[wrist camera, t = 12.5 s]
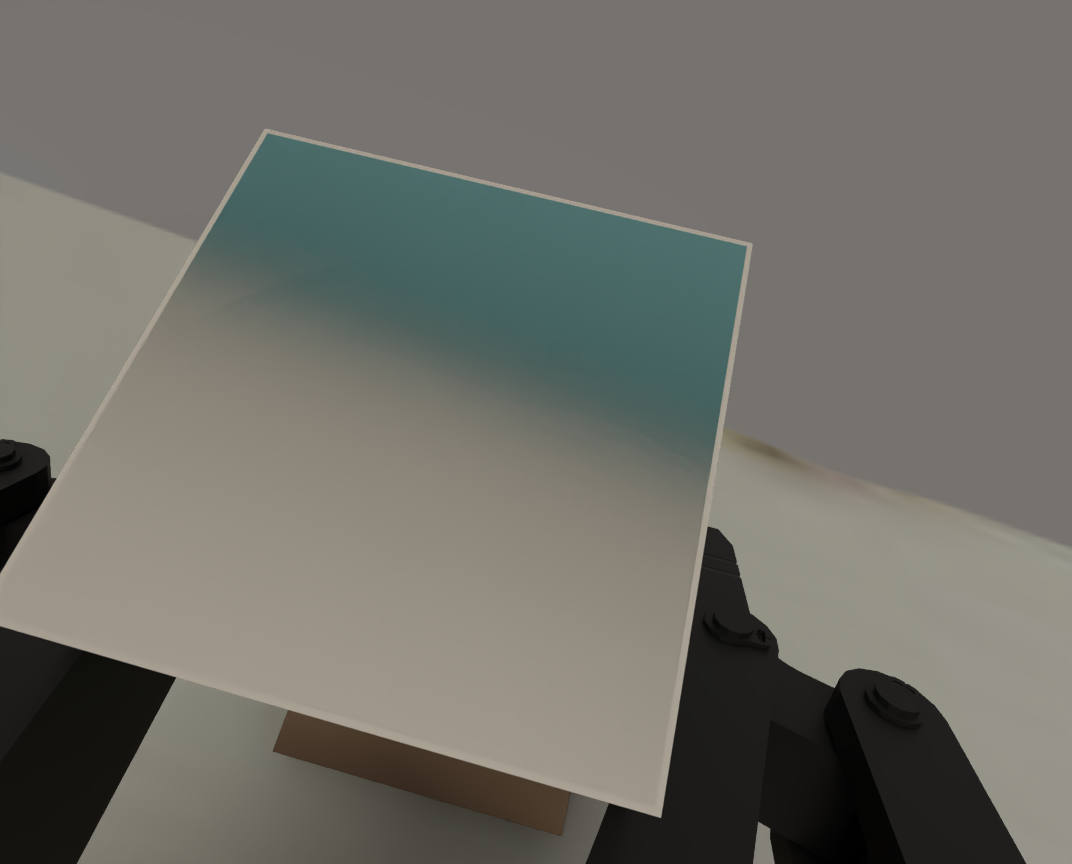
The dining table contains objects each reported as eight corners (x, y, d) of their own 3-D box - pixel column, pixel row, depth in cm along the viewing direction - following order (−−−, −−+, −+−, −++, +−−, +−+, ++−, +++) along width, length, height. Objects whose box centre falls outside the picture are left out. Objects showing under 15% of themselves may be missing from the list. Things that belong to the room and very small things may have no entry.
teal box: (543, 757, 17) (660, 816, 5) (353, 702, 18) (-27, 618, 5) (587, 566, 19) (752, 244, 7) (417, 520, 20) (265, 129, 7)
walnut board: (558, 831, 23) (561, 836, 22) (282, 750, 24) (272, 751, 23) (617, 554, 27) (622, 546, 26) (381, 490, 28) (376, 480, 27)
